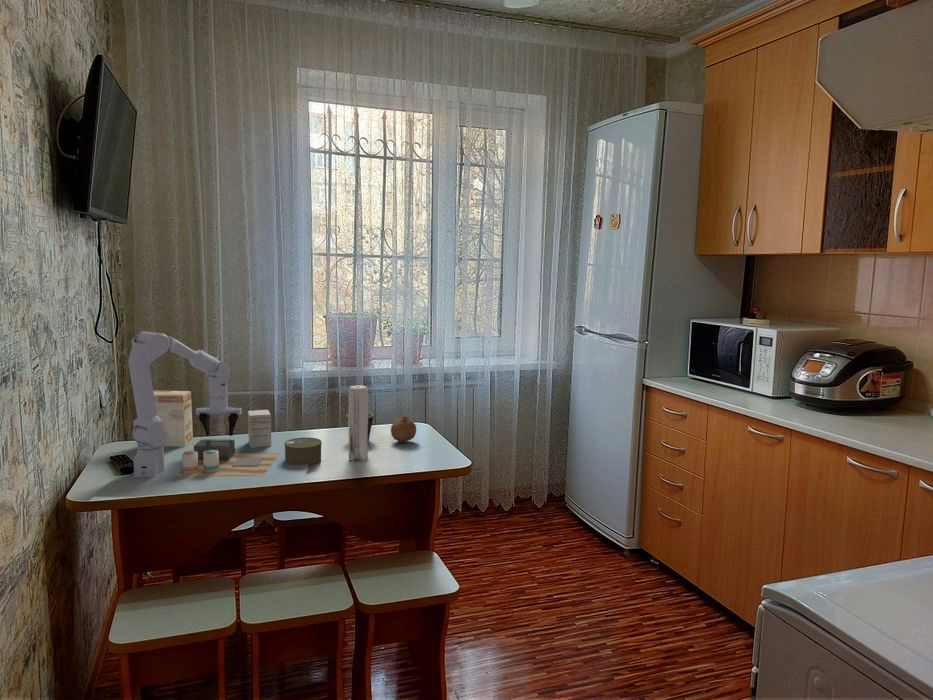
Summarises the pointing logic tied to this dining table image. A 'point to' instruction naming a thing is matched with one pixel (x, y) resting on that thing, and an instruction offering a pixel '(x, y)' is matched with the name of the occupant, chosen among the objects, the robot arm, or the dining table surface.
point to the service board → (230, 470)
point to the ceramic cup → (370, 420)
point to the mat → (247, 462)
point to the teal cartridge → (211, 461)
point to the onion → (403, 429)
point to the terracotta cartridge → (190, 462)
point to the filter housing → (216, 448)
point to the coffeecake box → (175, 416)
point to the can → (303, 451)
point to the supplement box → (259, 428)
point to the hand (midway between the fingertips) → (219, 435)
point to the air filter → (358, 422)
